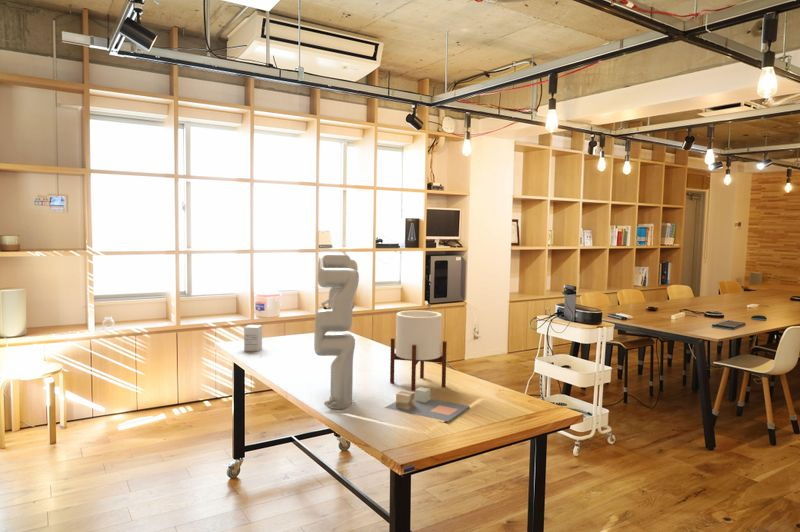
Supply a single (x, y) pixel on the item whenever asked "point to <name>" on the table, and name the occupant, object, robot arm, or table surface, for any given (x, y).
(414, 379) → the plant pot with stand
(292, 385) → the table surface
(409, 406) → the maple block
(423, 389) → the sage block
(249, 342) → the supplement box
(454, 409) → the board
